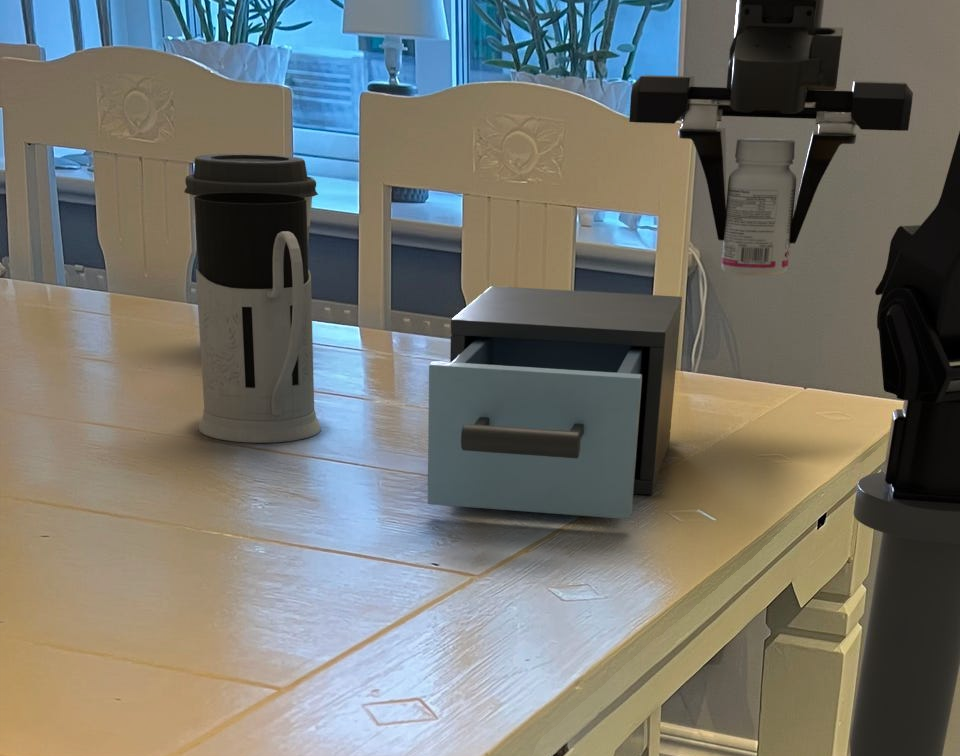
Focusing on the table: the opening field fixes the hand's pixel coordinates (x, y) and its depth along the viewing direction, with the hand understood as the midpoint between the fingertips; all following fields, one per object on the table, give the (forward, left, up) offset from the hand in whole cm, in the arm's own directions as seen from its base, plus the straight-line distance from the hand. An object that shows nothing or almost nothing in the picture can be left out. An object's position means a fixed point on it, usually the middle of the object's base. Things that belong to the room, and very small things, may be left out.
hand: (756, 241), depth 113 cm
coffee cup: (+43, -19, -13) cm, 49 cm away
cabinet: (+11, +15, -13) cm, 23 cm away
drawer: (+11, +27, -12) cm, 32 cm away
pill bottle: (0, 0, -2) cm, 2 cm away
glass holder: (+32, +14, -13) cm, 37 cm away
